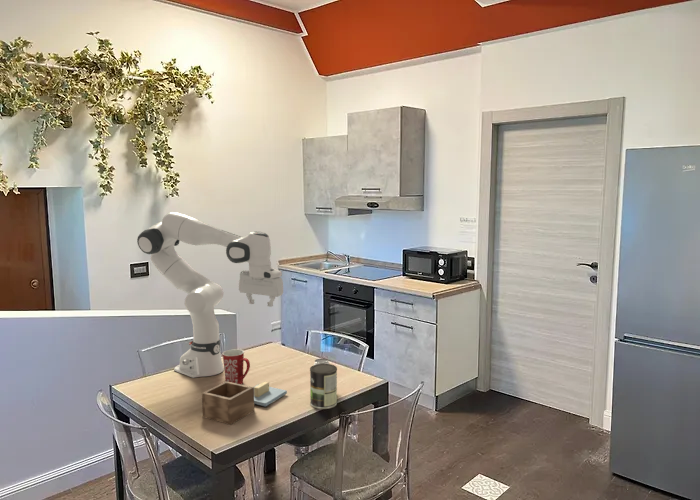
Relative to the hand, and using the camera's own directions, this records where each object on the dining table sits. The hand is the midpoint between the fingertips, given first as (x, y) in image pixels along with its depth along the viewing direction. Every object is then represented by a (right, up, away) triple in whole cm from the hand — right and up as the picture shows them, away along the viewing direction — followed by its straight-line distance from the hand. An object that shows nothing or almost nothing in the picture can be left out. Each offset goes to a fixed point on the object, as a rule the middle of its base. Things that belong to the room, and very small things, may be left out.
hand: (260, 305), depth 215 cm
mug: (-11, -34, +5) cm, 36 cm away
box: (-8, -37, -23) cm, 45 cm away
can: (+25, -35, 0) cm, 43 cm away
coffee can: (+26, -36, -14) cm, 47 cm away
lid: (+2, -36, -9) cm, 37 cm away
